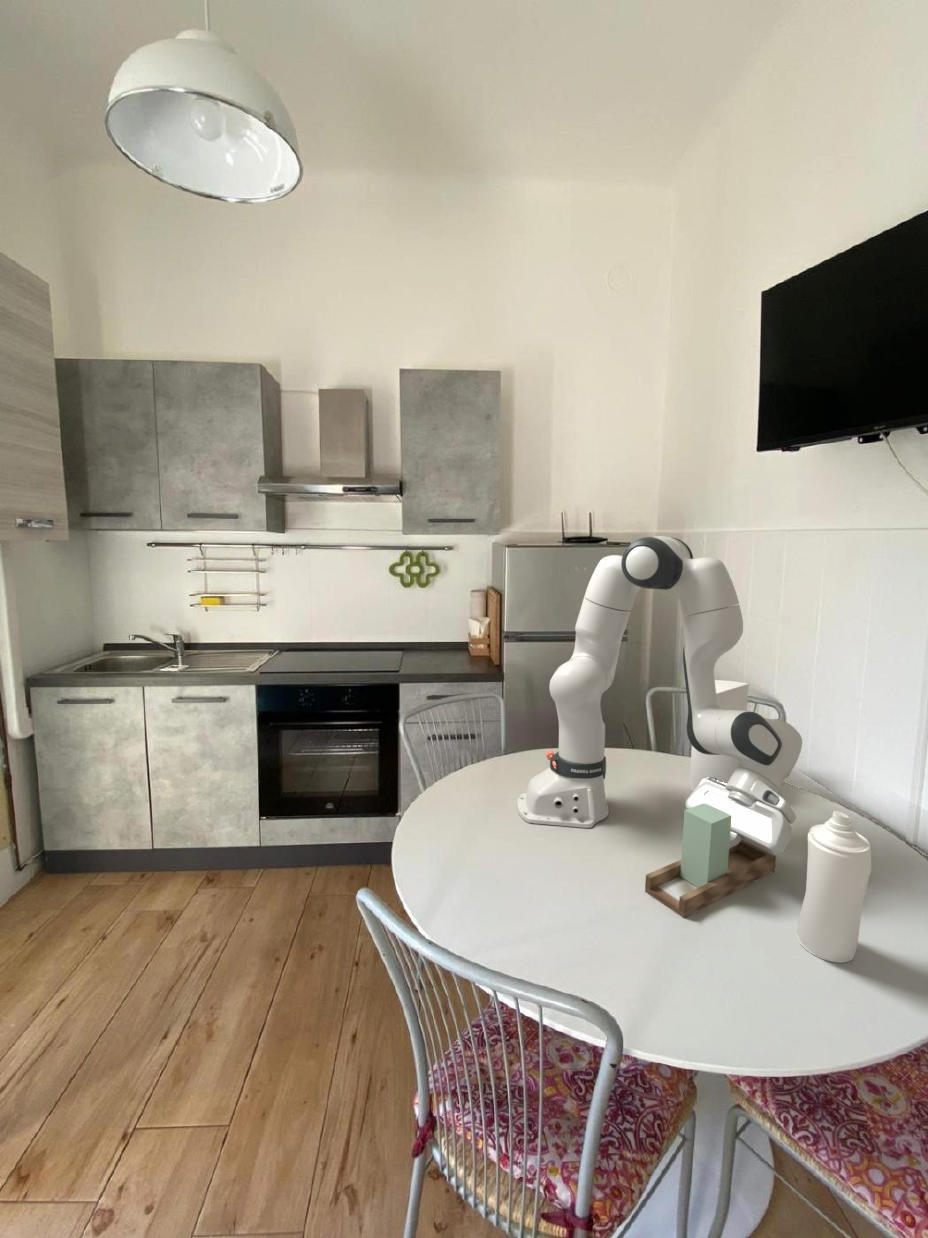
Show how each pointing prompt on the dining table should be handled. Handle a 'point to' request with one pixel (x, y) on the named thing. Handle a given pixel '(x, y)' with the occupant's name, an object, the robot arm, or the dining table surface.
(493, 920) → the dining table surface
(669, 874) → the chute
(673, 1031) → the dining table surface
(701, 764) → the cylinder
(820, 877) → the spray can
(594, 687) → the robot arm
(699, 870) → the block
